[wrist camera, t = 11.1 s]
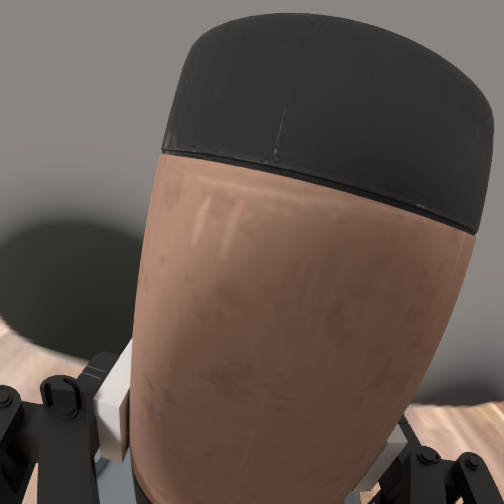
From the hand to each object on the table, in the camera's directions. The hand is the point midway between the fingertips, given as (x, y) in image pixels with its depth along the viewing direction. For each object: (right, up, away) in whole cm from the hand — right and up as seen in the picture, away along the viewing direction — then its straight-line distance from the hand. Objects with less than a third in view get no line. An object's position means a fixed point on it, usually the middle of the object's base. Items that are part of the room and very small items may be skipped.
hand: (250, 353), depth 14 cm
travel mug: (-2, -11, -2) cm, 11 cm away
